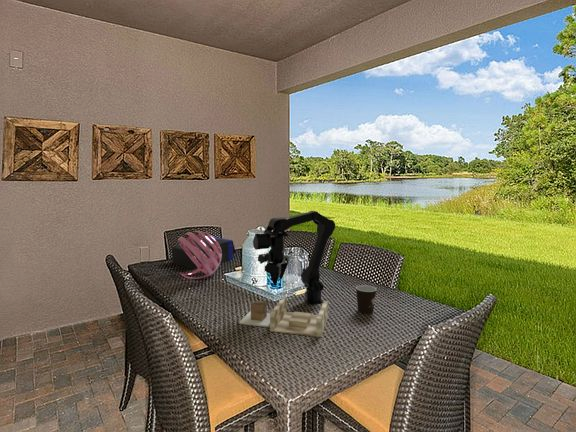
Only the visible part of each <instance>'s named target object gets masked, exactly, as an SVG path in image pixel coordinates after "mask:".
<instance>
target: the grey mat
mask: <svg viewBox="0 0 576 432" xmlns="http://www.w3.org/2000/svg"><path fill="white" fill-rule="evenodd" d="M270 313H271V312H267V316H266V318H265V319H264V320H263V321H258V320H251V310H250V311H249V312H247V314H246V315H245V316H244V317H243V318H242V319H241V320H240V321H239V322H238V323H239V325H245V326H246V325H247V326H248V325H249V326H255V327H262V328H270Z"/></svg>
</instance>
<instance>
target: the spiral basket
mask: <svg viewBox="0 0 576 432" xmlns="http://www.w3.org/2000/svg"><path fill="white" fill-rule="evenodd" d="M185 237H186V238H185ZM185 237H184V236H179V238H178V239H177V243H178V245H180V246H181V247H182V249H183V250H184V251H185V253H186V254H187V255H188V256H189V258H190V259H191V260H192V261H193V262H194V263H195V264H196V266H197V267H198V268H197V269H195V270H194V269H193V270H192V271H189V272H186V273H184V272H179V274H180V275H181V276H182V277H184V278H187V279H190V280H202V279H205V278H207V277H210V276H211V275H213V274H214V273H215V272H216V271H217V269H218V268H219V267H220V264H221V263H220V262H221V258H222V251H221V247H220V245H219V244H218V242H217V241H216V240H215V239H214V237H215V236H213V235H211V234H210V233H209V232H207V231H204V232H202V231H200V230H195V231H194V233H193V232H191V231H188V232H186V233H185ZM209 237H211V238H212V239H213V241H214V242H215V243H216V244H214V243H213V242H212V241H211V239H210V238H209ZM203 238H204V239H205V240H206V241H207V242H208V243H209V244H210V245H211V246H212V248H213V249H214V251H212V250H211V249H210V248H209V247H208V246H207V245H206V243H205V242H204V241H203ZM194 241H196V242H197V243H198V244H199V245H200V246H201V247H202V249H203V250H204V251H205V252H206V253H207V255H208V256H209V258H207V257H206V256H205V255H204V254H203V252H202V251H201V250H200V249H199V248H198V246H197V245H196V244H195V242H194ZM186 246H187V247H188V248H189V249H190V250H191V251H192V253H193V254H194V255H195V256H196V257H197V258H198V260H199V261H200V262H201V263H202V264H200V263H199V261H198V260H197V259H196V258H195V257H194V256H193V255H192V253H191V252H190V251H189V250H188V248H187V247H186ZM217 246H218V247H219V248H218V247H217ZM216 253H217V255H218V256H217V255H216ZM217 260H218V261H219V263H218V262H217ZM212 262H213V263H212ZM212 269H213V270H212ZM200 272H202V273H204V274H205V275H203V276H200V277H199V276H198V277H192V276H193V275H196V274H198V273H200ZM190 276H191V277H190Z"/></svg>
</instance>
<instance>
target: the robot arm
mask: <svg viewBox="0 0 576 432" xmlns="http://www.w3.org/2000/svg"><path fill="white" fill-rule="evenodd" d="M308 222H313V224H314V225H316V234H317V237H316V240H315V243H314V247H313V251H312V253H311V256H310V260H309V264H308V265H307V267H306V268H305V267H302V272H301V274H300V279H301V280H300V281H301V282H302V283H303V285H304V287H306V288H305V292H304V301H305V302H307V303H308V304H309V305H315V304H321V303H322V304H323V300H322V291H324V287H325V286H324V284H323V283H322V282H321V281H320V277H321V274H320V266H321V263H322V260H323V257H324V254H325V249H326V247H327V242H328V239H330V238H331V236H333V233H334V232H335V229H336V223H335V221H334V220H333V219H329V218H328V217H326V216H324V215H322V214H321V213H319V211H317V210H316V211H315V210H309V211H307V212H303V213H300V214H295V215H291V216H286V217H285V216H284V217H283V216H282V217H272V218H271V219H269V221H268V225H267V226H266V228H265V229H264V232H262V233H260V232H259V233H258V232H256V233H254V237H253V240H252V246H253V248H254V250H265V249H269V251H268V252H266V253H261V254H258V255H257V261H258V262H259V264H261V265H262V264H264V263H267V264H265V265H264V272H265V273H267V274H269V275H270V278H271V280H272V281H271V282H272V284H273V286H274V287H275V286H277V284H278V281H279V280H282V279H283V278H284V275H285V273H286V271H287V268H288V265H289V263H290V260H291V258H290V256H289V255H286V254H285V252H286V248H285V238H286V237H289V234H288V233H287V232H286V231H288V229H290V228H291V227H294V226H297V225H301V224H305V223H308Z"/></svg>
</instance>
